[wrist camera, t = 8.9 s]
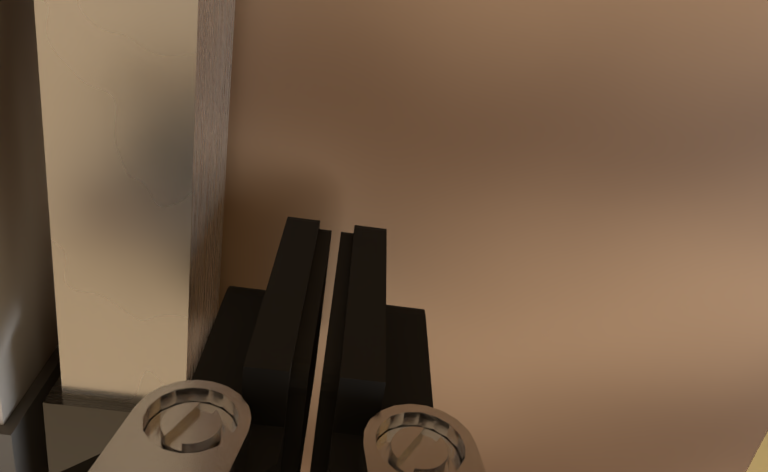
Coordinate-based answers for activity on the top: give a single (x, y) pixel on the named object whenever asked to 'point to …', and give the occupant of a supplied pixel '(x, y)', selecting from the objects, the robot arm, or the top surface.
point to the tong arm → (130, 201)
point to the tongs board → (482, 212)
